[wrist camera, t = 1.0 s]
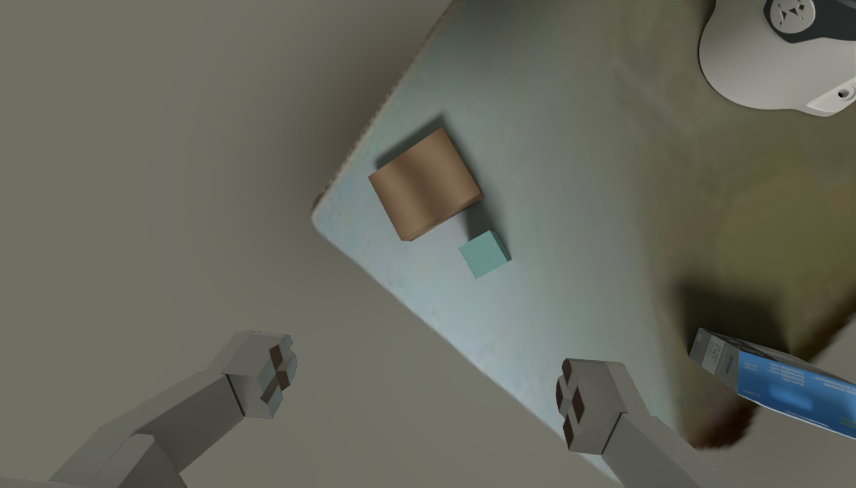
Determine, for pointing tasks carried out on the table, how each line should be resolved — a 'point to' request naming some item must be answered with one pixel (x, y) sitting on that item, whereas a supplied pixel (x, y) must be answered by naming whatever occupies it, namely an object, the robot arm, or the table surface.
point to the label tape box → (779, 381)
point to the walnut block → (425, 186)
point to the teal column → (484, 253)
